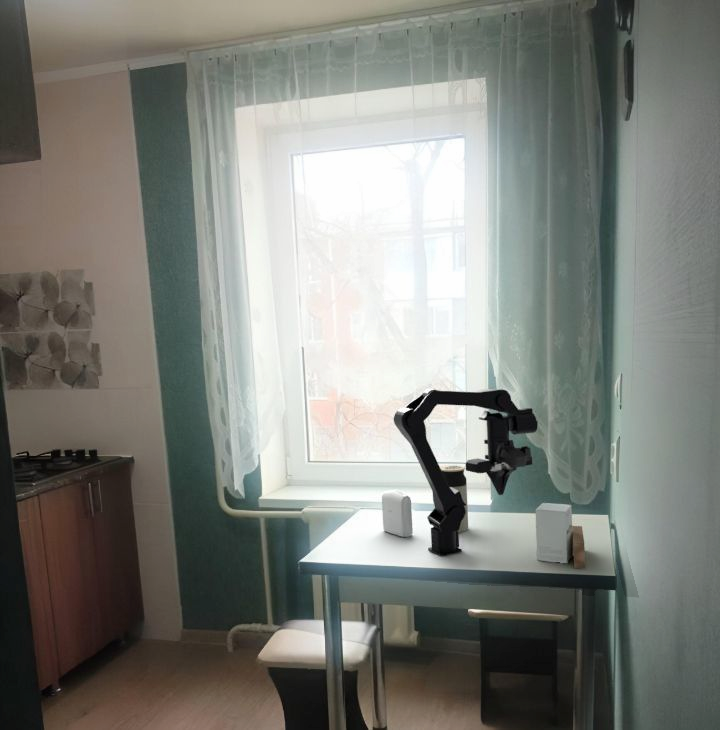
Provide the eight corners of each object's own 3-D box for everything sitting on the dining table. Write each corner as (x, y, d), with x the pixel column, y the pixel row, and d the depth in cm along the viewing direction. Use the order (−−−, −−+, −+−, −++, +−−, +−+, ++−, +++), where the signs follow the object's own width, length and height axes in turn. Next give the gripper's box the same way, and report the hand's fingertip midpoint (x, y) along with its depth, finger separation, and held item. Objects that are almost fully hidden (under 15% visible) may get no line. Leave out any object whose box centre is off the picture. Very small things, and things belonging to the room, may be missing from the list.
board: (574, 568, 144) (573, 542, 144) (572, 549, 157) (572, 525, 157) (585, 568, 143) (584, 543, 143) (582, 549, 157) (582, 526, 157)
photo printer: (381, 531, 181) (379, 489, 181) (392, 528, 184) (390, 486, 183) (403, 538, 173) (401, 494, 172) (415, 535, 175) (413, 492, 175)
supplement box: (567, 564, 147) (565, 511, 146) (536, 560, 150) (534, 508, 150) (574, 555, 153) (572, 504, 153) (543, 551, 157) (541, 501, 157)
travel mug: (473, 528, 180) (471, 466, 179) (458, 535, 174) (455, 471, 173) (450, 524, 185) (448, 464, 185) (435, 530, 179) (432, 468, 179)
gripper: (491, 443, 152) (494, 506, 153) (546, 435, 162) (549, 494, 162) (463, 438, 162) (465, 498, 162) (516, 431, 171) (518, 487, 172)
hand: (500, 494), depth 164 cm, fingers closed
